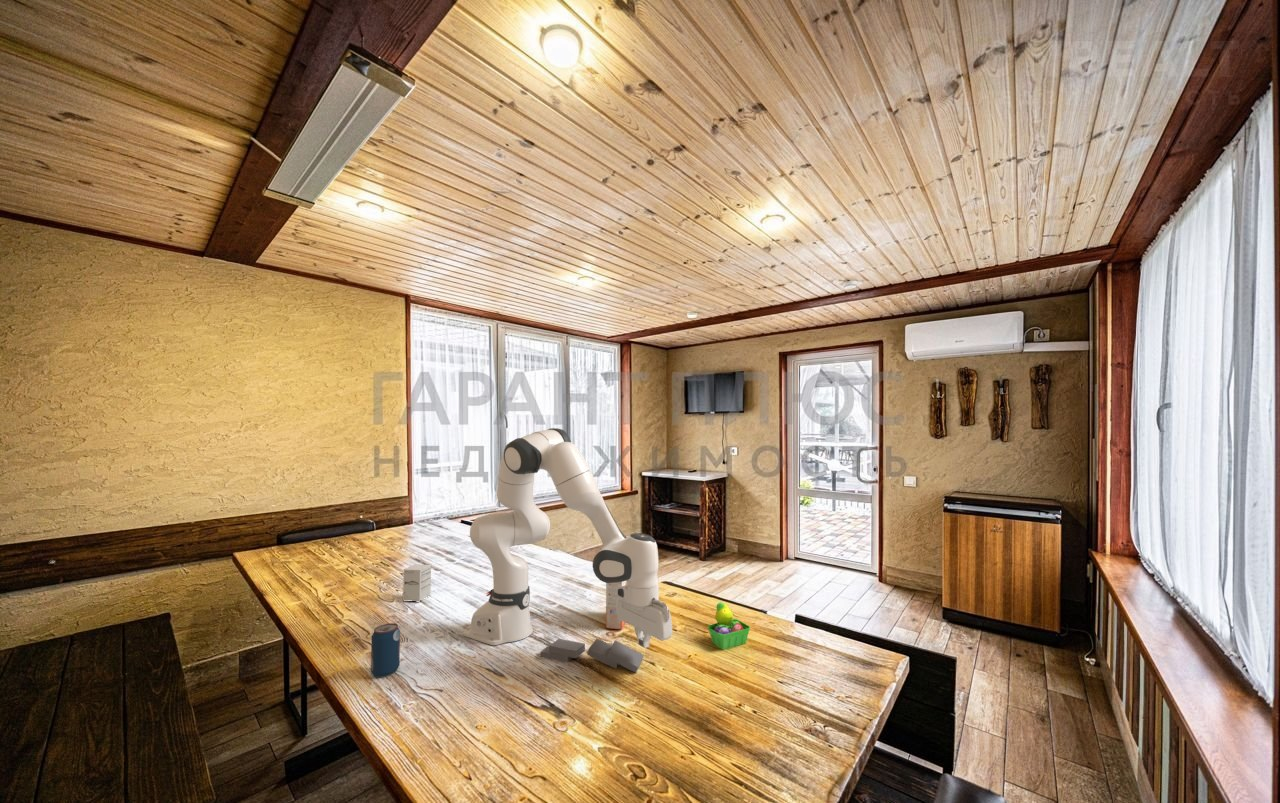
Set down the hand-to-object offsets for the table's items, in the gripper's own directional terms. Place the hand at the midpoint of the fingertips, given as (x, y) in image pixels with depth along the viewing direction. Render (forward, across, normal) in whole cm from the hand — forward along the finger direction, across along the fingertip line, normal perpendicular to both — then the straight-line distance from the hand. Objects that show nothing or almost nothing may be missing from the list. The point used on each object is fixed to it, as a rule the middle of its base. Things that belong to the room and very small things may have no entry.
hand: (643, 645), depth 128 cm
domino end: (+5, +1, 0) cm, 5 cm away
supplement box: (+7, +100, +33) cm, 106 cm away
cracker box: (+7, +30, -15) cm, 35 cm away
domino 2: (+4, +16, +10) cm, 20 cm away
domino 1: (+6, +19, +11) cm, 23 cm away
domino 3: (+5, +6, +3) cm, 9 cm away
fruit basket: (+7, -4, -30) cm, 31 cm away
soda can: (+7, +46, +54) cm, 71 cm away
